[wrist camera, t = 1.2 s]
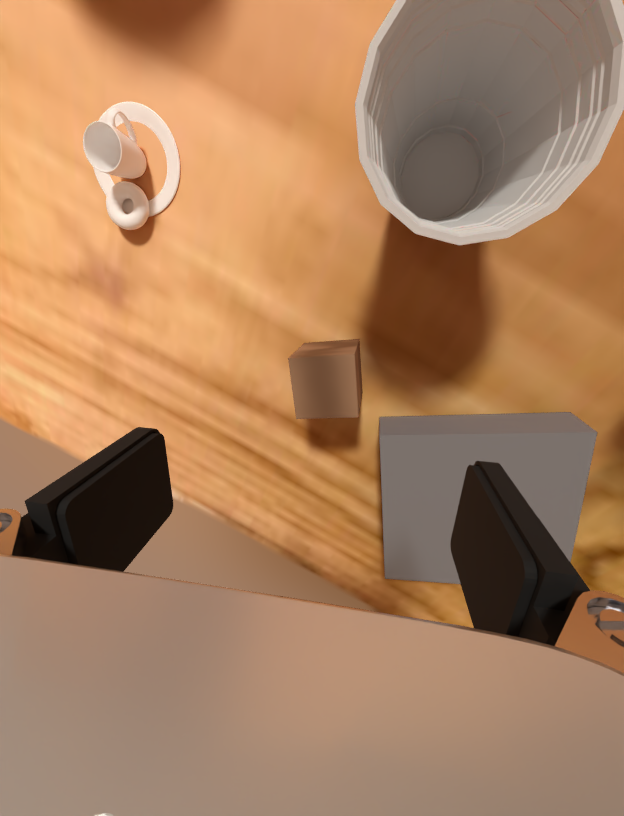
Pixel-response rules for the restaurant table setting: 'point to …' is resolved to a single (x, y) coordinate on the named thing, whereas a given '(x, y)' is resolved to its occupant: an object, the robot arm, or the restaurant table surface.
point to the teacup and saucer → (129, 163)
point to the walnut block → (327, 379)
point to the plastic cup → (488, 110)
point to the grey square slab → (445, 472)
